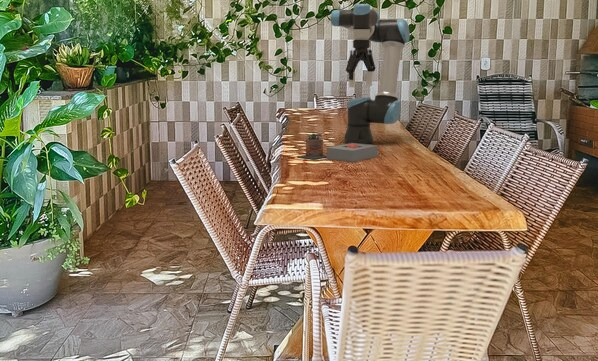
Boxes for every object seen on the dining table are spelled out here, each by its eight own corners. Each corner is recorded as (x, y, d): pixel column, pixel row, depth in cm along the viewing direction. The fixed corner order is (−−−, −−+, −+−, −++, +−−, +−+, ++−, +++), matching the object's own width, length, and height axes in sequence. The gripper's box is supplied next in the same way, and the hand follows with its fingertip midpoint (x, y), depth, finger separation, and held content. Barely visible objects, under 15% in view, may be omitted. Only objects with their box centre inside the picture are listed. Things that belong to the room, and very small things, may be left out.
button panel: (351, 153, 326) (351, 142, 325) (377, 156, 317) (377, 145, 316) (326, 158, 311) (326, 147, 310) (352, 162, 302) (353, 150, 301)
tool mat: (313, 154, 322) (313, 153, 322) (330, 156, 316) (330, 155, 316) (296, 157, 313) (296, 156, 313) (314, 160, 307) (314, 158, 307)
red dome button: (350, 154, 317) (351, 143, 316) (359, 155, 314) (360, 144, 313) (344, 155, 313) (345, 144, 312) (353, 156, 310) (354, 145, 310)
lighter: (306, 156, 312) (306, 134, 311) (304, 155, 316) (304, 133, 314) (323, 156, 314) (324, 133, 312) (322, 155, 317) (322, 133, 315)
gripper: (369, 39, 328) (369, 84, 333) (338, 39, 309) (337, 87, 314) (383, 39, 324) (382, 85, 328) (352, 39, 305) (351, 88, 309)
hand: (360, 86), depth 321 cm, fingers open, 13 cm apart
